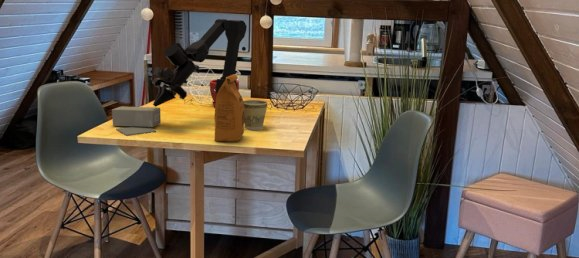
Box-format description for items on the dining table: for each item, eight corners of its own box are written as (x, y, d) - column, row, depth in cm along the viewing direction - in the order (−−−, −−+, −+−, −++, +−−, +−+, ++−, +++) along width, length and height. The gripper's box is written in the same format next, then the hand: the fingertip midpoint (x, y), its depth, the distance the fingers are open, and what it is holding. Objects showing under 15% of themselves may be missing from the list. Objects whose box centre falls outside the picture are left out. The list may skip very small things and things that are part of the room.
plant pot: (231, 102, 246) (231, 77, 243) (243, 107, 235) (243, 81, 232) (205, 104, 239) (205, 79, 236) (216, 110, 228) (216, 83, 225)
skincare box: (152, 110, 188) (111, 107, 190) (152, 129, 190) (111, 126, 191) (161, 106, 196) (121, 104, 198) (161, 125, 198) (121, 122, 199)
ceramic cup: (256, 132, 190) (257, 105, 188) (235, 128, 195) (235, 102, 193) (276, 126, 201) (276, 100, 199) (255, 122, 206) (255, 97, 204)
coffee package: (248, 135, 185) (249, 74, 180) (238, 144, 173) (239, 78, 168) (221, 133, 187) (221, 72, 182) (210, 142, 175) (210, 77, 170)
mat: (145, 126, 194) (145, 125, 194) (156, 132, 186) (156, 130, 186) (116, 129, 187) (116, 128, 187) (126, 135, 180) (126, 134, 179)
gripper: (156, 56, 195) (128, 87, 191) (178, 61, 181) (149, 95, 177) (175, 76, 202) (149, 106, 198) (198, 82, 188) (171, 115, 184)
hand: (154, 105), depth 189 cm, fingers closed
